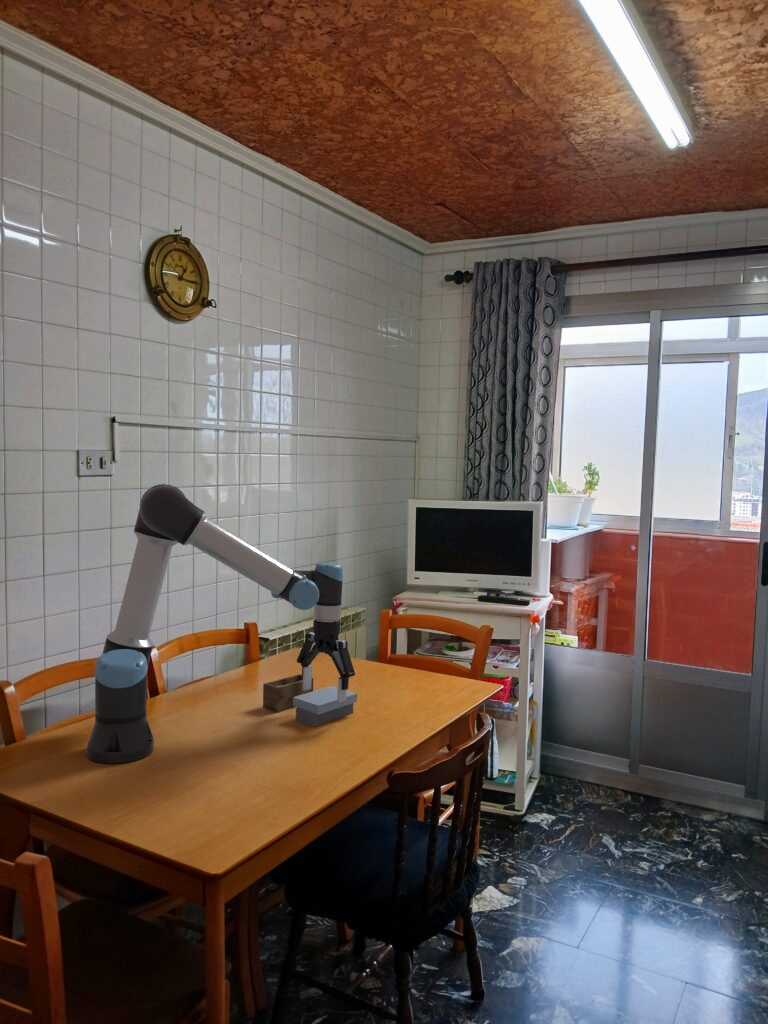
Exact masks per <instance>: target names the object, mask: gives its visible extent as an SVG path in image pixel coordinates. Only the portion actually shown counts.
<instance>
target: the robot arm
mask: <svg viewBox="0 0 768 1024" xmlns="http://www.w3.org/2000/svg"><path fill="white" fill-rule="evenodd" d="M134 525H135V526H134V528H133V529H134V530H133V533H134V534H135V536H136V538H137V543H136V546H135V551H134V554H133V559H132V560H131V561H132V562H131V565H130V569H129V573H128V578H127V581H126V586H125V590H124V593H123V597H122V600H121V605H120V609H119V612H118V616H117V621H116V624H115V628H114V630H113V631H111V632H110V633H108V634H106V638H105V642H104V645H103V650H102V654H100V655H99V656H98V657H97V659H96V661H95V666H94V671H93V672H94V673H93V674H94V677H95V679H94V684H95V685H94V690H95V691H94V692H95V693H94V697H95V699H94V700H95V701H94V713H95V715H94V716H95V717H94V725H93V728H92V730H91V733H90V736H89V739H88V742H87V744H86V745H87V746H86V751H87V752H86V756H87V758H88V759H89V760H91V761H93V762H97V763H101V764H125V763H129V762H134V761H138V760H141V759H144V758H146V757H148V756H149V755H150V754H152V753H153V751H154V749H155V739H154V736H153V733H152V729H151V728H150V727H151V726H150V724H149V721H148V718H147V716H148V715H147V714H148V713H147V711H148V710H147V708H148V707H147V704H148V703H147V697H148V695H147V694H148V692H147V691H148V690H147V689H148V688H147V686H148V685H147V684H148V678H147V675H148V668H149V663H150V659H151V654H152V650H153V647H154V643H153V641H152V639H151V638H150V635H151V630H152V627H153V622H154V619H155V616H156V615H155V614H156V610H157V608H158V604H159V599H160V596H161V592H162V588H163V584H164V580H165V576H166V573H167V569H168V564H169V560H170V557H171V553H172V549H173V547H174V546H175V545H177V544H180V545H182V546H189V545H191V546H192V547H193V548H196V549H198V550H199V551H201V552H203V553H204V554H206V555H208V556H209V557H212V558H213V559H215V560H216V561H218V562H220V563H221V564H223V565H225V566H227V567H228V568H230V569H231V570H234V572H235V571H236V572H237V573H239V574H240V575H242V576H244V578H245V577H246V578H247V579H249V580H251V581H253V582H255V583H256V584H258V586H261V587H262V588H265V589H266V590H268V591H270V594H271V596H272V598H273V599H281V600H285V601H286V602H288V603H290V604H291V605H292V607H294V608H295V609H298V610H300V611H301V610H302V611H307V610H311V609H312V608H313V618H314V619H313V621H312V622H313V623H312V624H313V627H312V631H310V632H306V634H305V640H304V643H303V645H302V647H301V649H300V652H299V654H298V656H297V659H296V663H297V664H300V666H301V675H302V677H303V688H302V690H304V691H305V690H309V689H311V682H312V678H313V677H312V676H313V665H312V662H313V661H314V660H315V658H317V656H318V655H319V654H320V653H324V654H326V655H328V656H329V657H330V658H331V660H332V663H333V664H334V666H335V667H336V669H337V672H338V675H339V677H338V679H337V688H338V695H337V702H342V701H345V700H346V691H348V689H349V681H350V680H349V679H350V678H352V677H354V676H356V672H355V668H354V666H353V662H352V658H351V654H350V652H349V649H348V646H349V645H348V641H347V639H344V640H340V638H339V635H340V634H341V625H342V622H341V620H340V619H341V618H342V617H341V616H342V598H343V582H344V580H343V579H344V574H343V573H344V571H343V566H342V565H341V564H340V563H337V562H328V561H327V562H317V563H316V564H315V567H314V569H312V570H294V569H292V568H290V567H289V566H287V564H284V563H282V561H279V560H277V559H276V558H274V557H272V556H271V555H269V554H267V553H266V552H264V551H263V550H261V549H259V548H258V547H256V546H254V545H253V544H251V543H249V542H248V541H246V540H244V539H243V538H241V537H239V536H237V535H236V534H235V533H233V532H231V531H229V530H228V529H227V528H225V527H223V526H221V525H220V524H218V523H217V522H215V521H213V520H211V519H210V518H208V517H207V514H206V511H205V510H203V509H202V508H201V507H198V506H197V505H196V504H194V503H193V502H191V501H190V500H189V499H188V497H186V495H185V493H184V492H183V491H182V490H181V489H180V488H179V487H176V486H173V485H171V484H164V483H162V484H157V485H153V486H151V487H150V488H149V489H147V490H146V491H145V493H143V495H142V496H141V499H140V502H139V509H138V514H137V517H136V521H135V524H134Z"/></svg>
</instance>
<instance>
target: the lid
mask: <svg viewBox="0 0 768 1024" xmlns="http://www.w3.org/2000/svg"><path fill="white" fill-rule="evenodd" d="M337 695H338V686H337V687H336V686H333V685H329V686H327V687H323V688H320V689H317V690H313V692H309V693H306V694H302V695H299V696H296V697H293V706H295V707H294V708H297V707H298V708H301V709H304V710H307V711H310V712H313V713H316V714H322V713H325V712H328V711H331V710H334V709H337V708H340V707H343V706H346V705H349V704H352V703H353V704H354V703H357V702H358V693H356V692H355V691H354V692H353V691H350V690H347V691H346V700H345V701H342V702H337Z"/></svg>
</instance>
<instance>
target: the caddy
mask: <svg viewBox="0 0 768 1024" xmlns="http://www.w3.org/2000/svg"><path fill="white" fill-rule="evenodd" d="M302 688H303V677H302V673H301V674H300V673H298V674H294V675H291V676H286V677H283V678H279V679H276V680H272V681H268V682H265V683H264V682H263V685H262V695H263V696H262V708H263V709H266V710H268V711H271V712H275V713H280V712H284V711H286V710H287V711H288V710H290V709H293V708H296V707H295V706H293V697H296V696H299V695H302V694H306V693H309V692H313V691H314V677H312V682H311V689H309V690H305V691H304V690H302Z"/></svg>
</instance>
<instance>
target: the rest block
mask: <svg viewBox="0 0 768 1024" xmlns="http://www.w3.org/2000/svg"><path fill="white" fill-rule="evenodd" d="M353 713H354V703H352V704H349V705H346V706H343V707H340V708H337V709H334V710H331V711H328V712H325V713H322V714H316V713H313V712H310V711H307V710H304V709H301V708H298V707H295V722H297V723H300V724H303V725H305V726H309V727H311V728H314V727H317V726H319V725H322V724H326V723H328V722H332V721H334V720H336V719H339V718H343V717H345V716H348V715H351V714H353Z"/></svg>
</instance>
